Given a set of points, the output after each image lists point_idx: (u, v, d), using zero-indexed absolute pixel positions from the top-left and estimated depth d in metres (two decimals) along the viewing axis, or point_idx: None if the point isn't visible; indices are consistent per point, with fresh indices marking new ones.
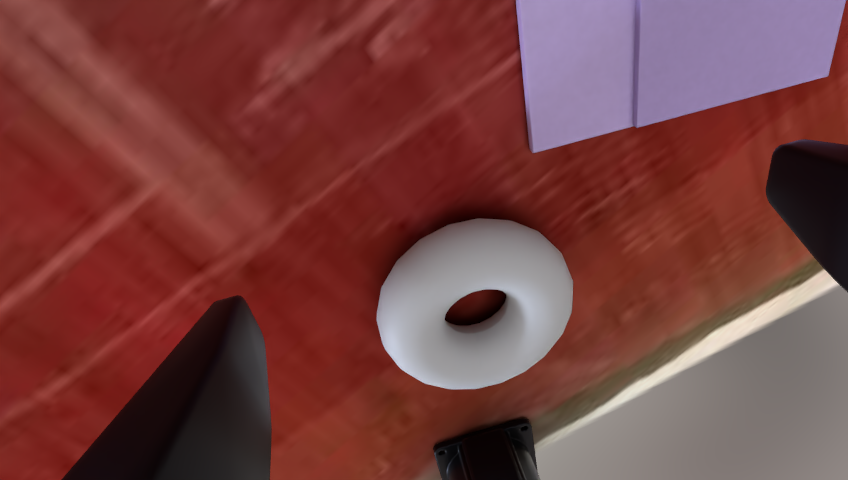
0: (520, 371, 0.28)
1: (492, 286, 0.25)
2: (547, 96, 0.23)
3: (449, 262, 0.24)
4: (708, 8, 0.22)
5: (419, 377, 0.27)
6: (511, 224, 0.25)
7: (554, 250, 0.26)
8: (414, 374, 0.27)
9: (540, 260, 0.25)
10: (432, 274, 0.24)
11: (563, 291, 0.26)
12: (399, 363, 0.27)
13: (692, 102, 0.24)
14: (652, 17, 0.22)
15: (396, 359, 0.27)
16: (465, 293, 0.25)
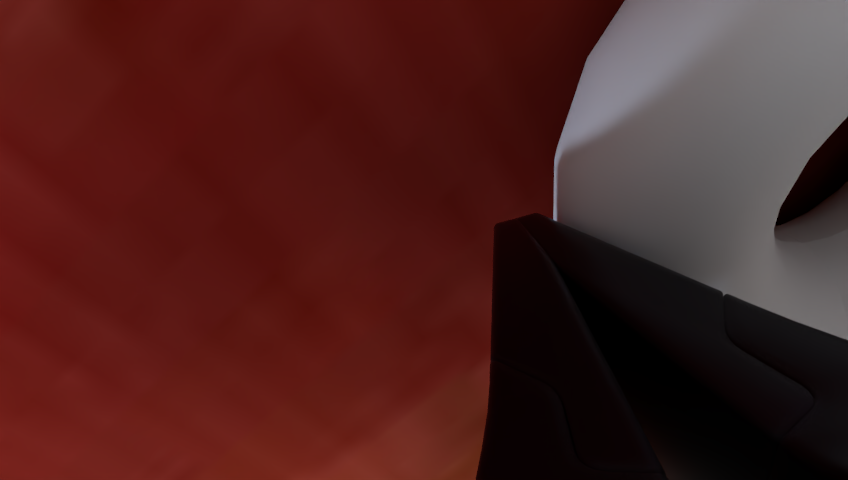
0: None
1: None
2: None
3: None
4: None
5: None
6: None
7: None
8: None
9: None
10: None
11: None
12: None
13: None
14: None
15: None
16: None
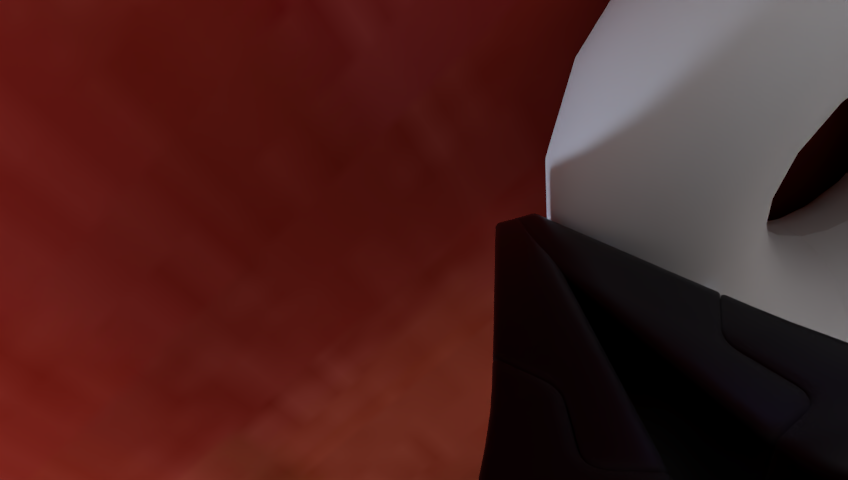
0: None
1: None
2: None
3: None
4: None
5: None
6: None
7: None
8: None
9: None
10: None
11: None
12: None
13: None
14: None
15: None
16: None
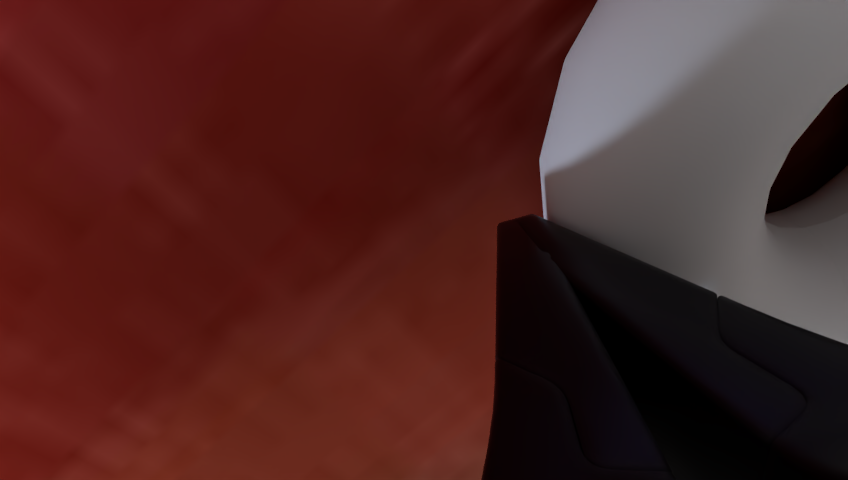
0: None
1: None
2: None
3: None
4: None
5: None
6: None
7: None
8: None
9: None
10: None
11: None
12: None
13: None
14: None
15: None
16: None
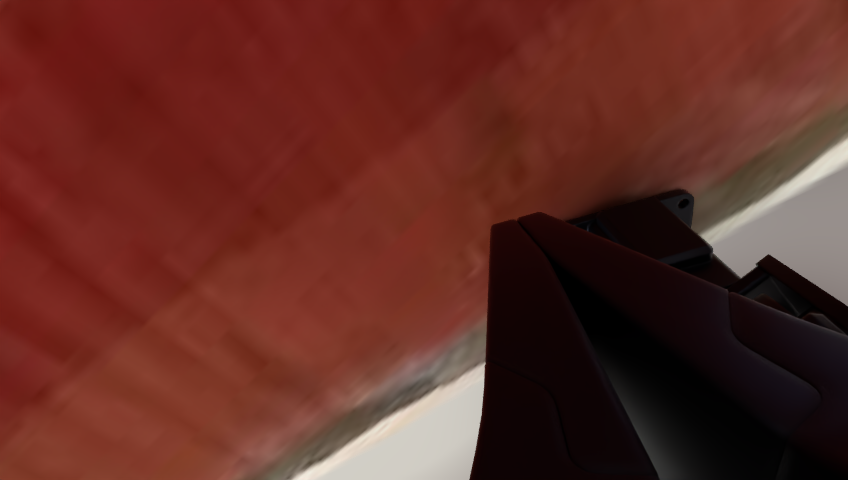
0: None
1: None
2: None
3: None
4: None
5: None
6: None
7: None
8: None
9: None
10: None
11: None
12: None
13: None
14: None
15: None
16: None
